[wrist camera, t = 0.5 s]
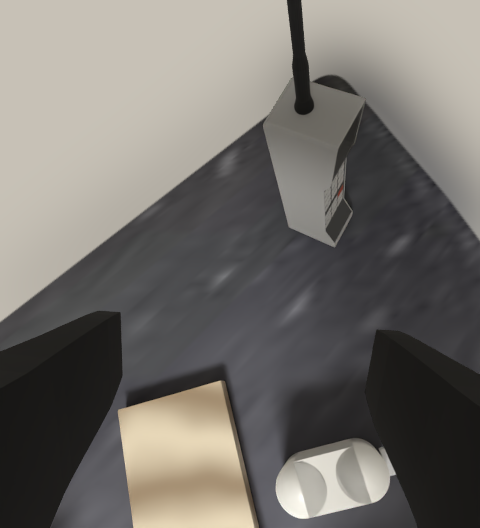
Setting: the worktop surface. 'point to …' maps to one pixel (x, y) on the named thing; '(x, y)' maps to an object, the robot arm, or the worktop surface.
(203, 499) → the birch board
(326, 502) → the capped bottle
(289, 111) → the vintage mobile phone
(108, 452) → the worktop surface
